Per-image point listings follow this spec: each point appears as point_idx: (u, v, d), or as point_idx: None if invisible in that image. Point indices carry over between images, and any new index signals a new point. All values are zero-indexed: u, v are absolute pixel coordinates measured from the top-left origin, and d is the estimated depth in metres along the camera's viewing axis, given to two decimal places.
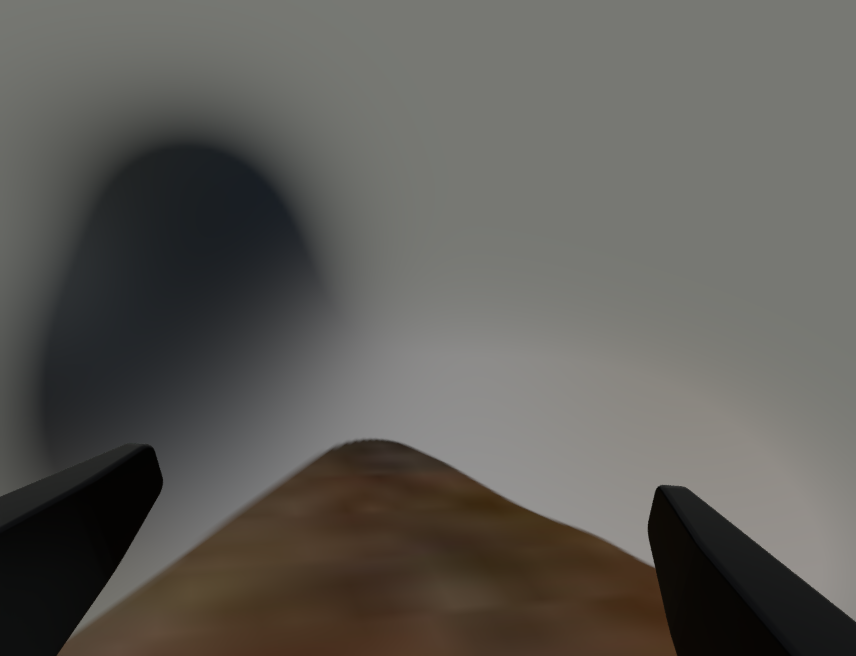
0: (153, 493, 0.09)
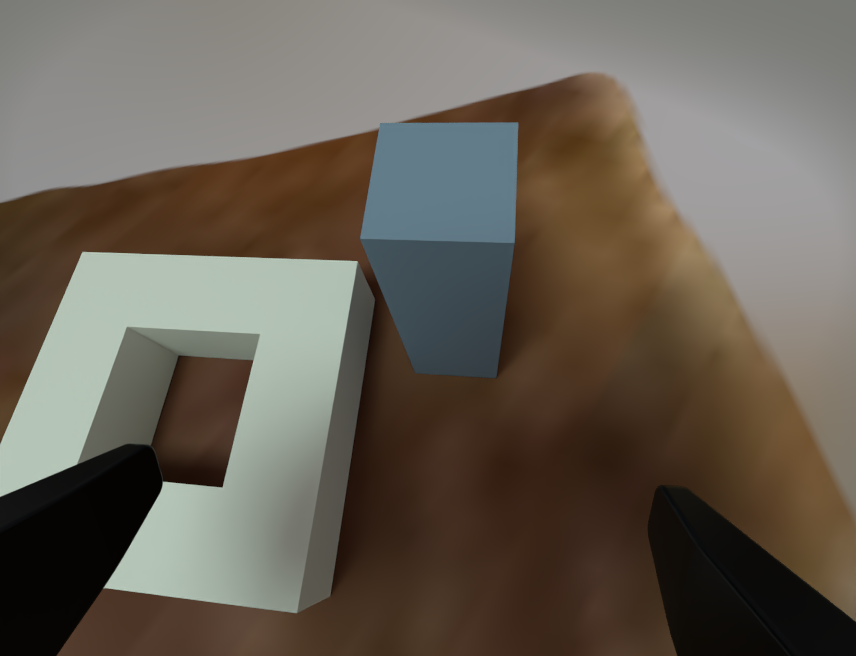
0: (153, 493, 0.09)
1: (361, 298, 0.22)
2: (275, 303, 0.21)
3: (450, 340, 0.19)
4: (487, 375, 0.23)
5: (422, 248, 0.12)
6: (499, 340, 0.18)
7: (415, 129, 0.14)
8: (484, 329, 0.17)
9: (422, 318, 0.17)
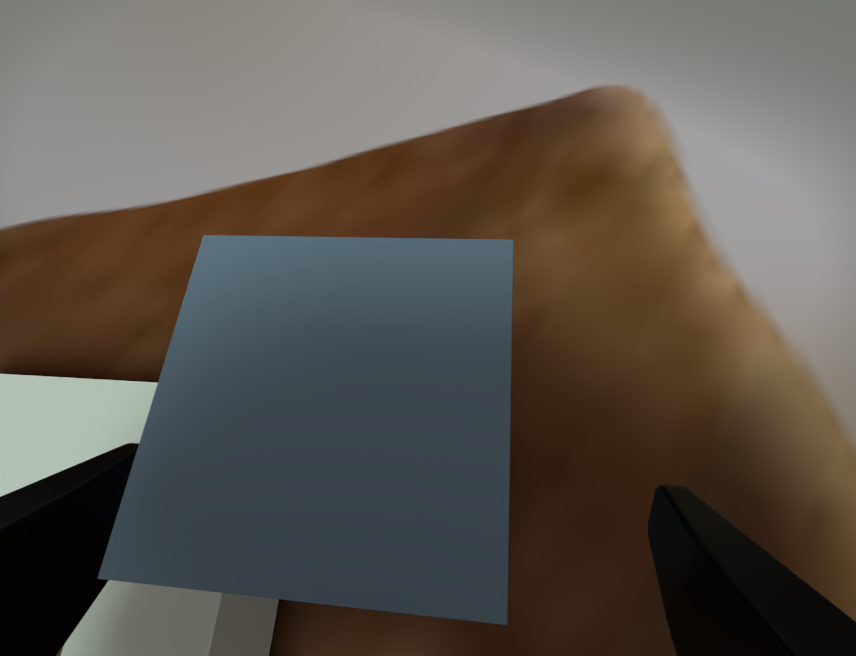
0: None
1: None
2: None
3: None
4: None
5: (267, 592, 0.05)
6: None
7: (277, 253, 0.06)
8: None
9: None
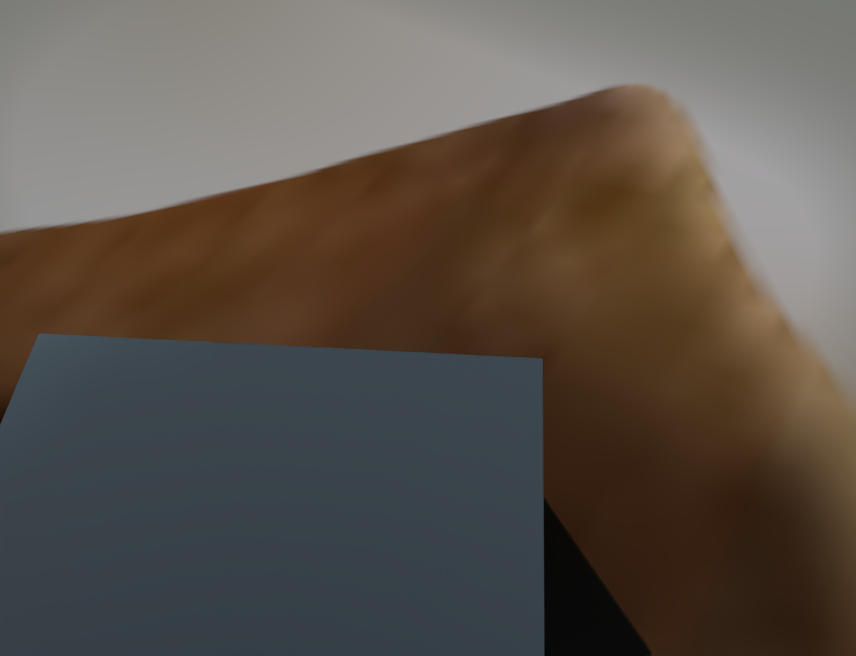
0: None
1: None
2: None
3: None
4: None
5: None
6: None
7: (151, 370, 0.04)
8: None
9: None
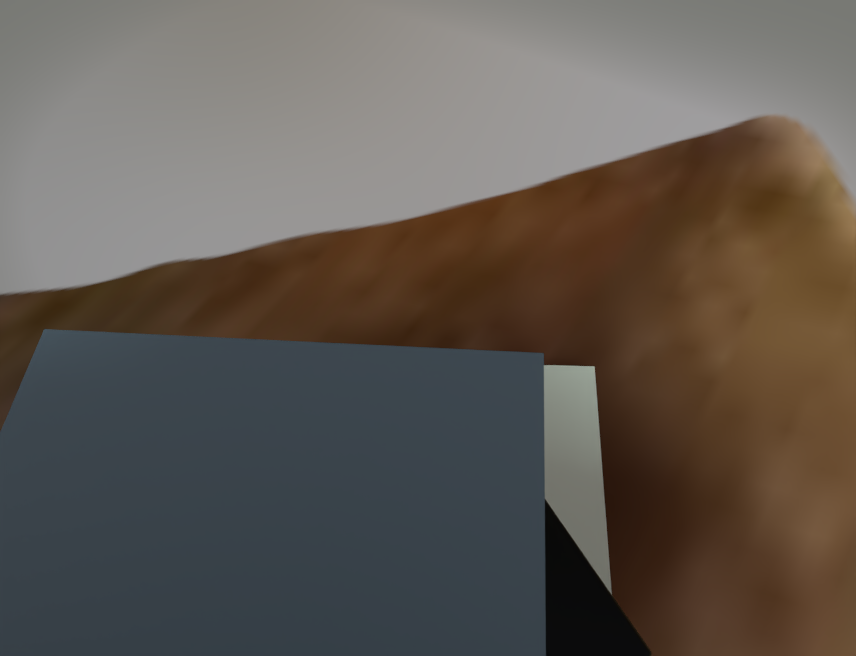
0: None
1: None
2: None
3: None
4: None
5: None
6: None
7: (155, 365, 0.04)
8: None
9: None
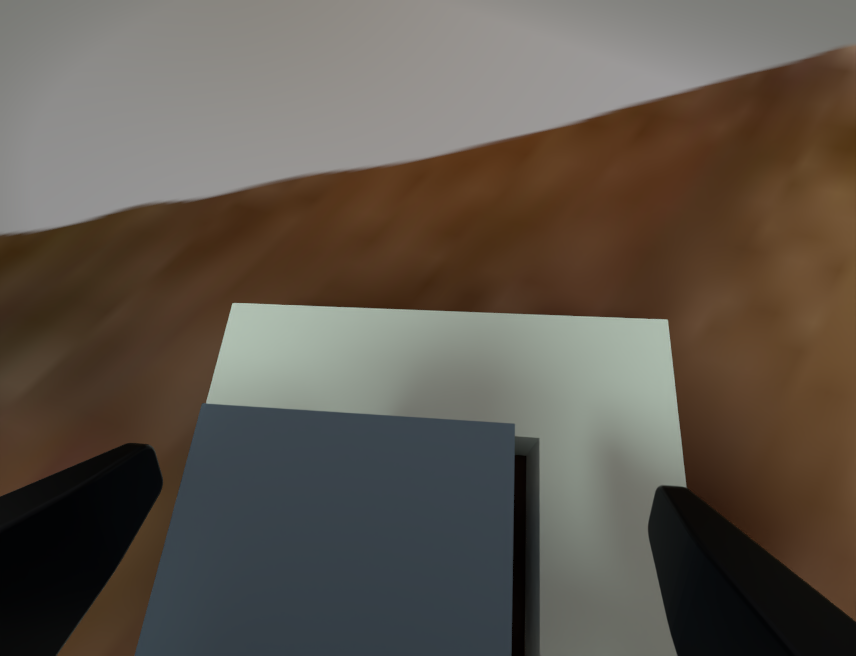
0: (153, 493, 0.09)
1: None
2: (552, 387, 0.14)
3: None
4: None
5: None
6: None
7: (276, 428, 0.06)
8: None
9: None
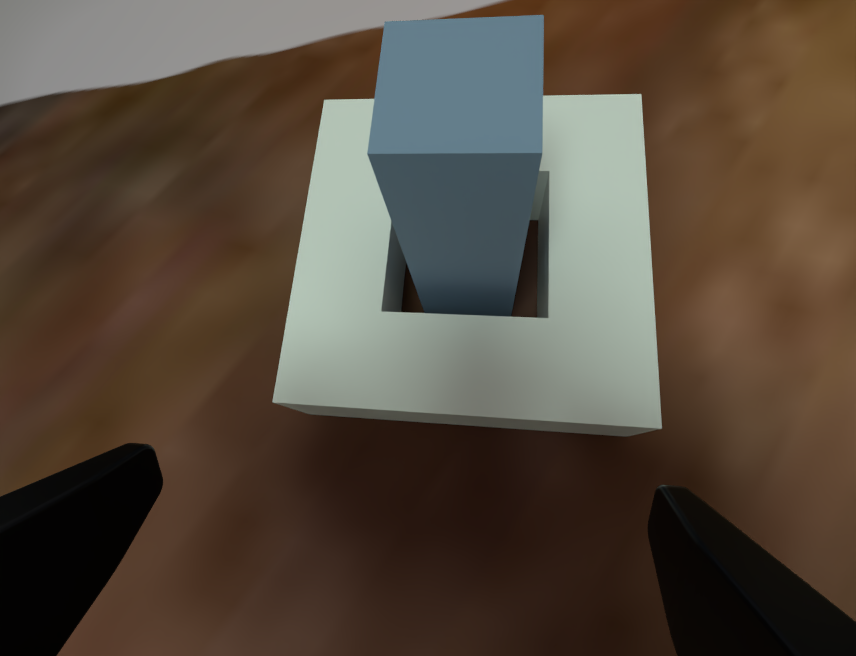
0: (153, 493, 0.09)
1: None
2: (558, 140, 0.20)
3: (464, 277, 0.17)
4: None
5: (437, 163, 0.11)
6: (516, 275, 0.17)
7: (425, 27, 0.12)
8: (501, 263, 0.16)
9: (435, 251, 0.16)
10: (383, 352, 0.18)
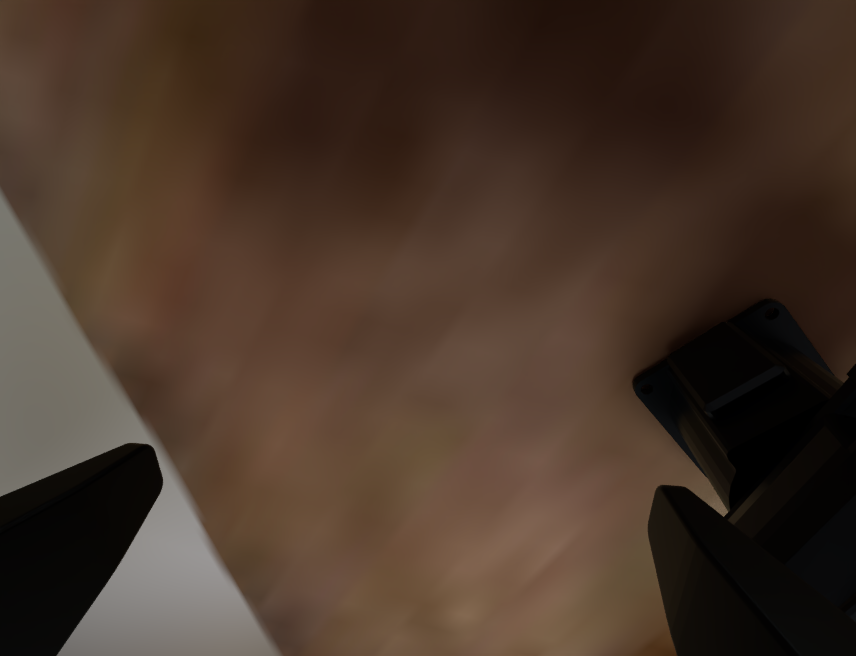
0: (153, 493, 0.09)
1: None
2: None
3: None
4: None
5: None
6: None
7: None
8: None
9: None
10: None
